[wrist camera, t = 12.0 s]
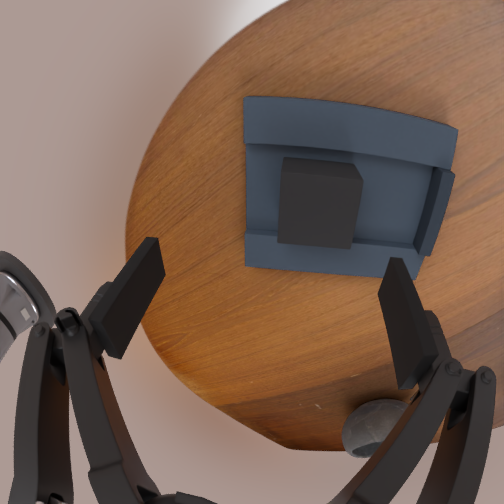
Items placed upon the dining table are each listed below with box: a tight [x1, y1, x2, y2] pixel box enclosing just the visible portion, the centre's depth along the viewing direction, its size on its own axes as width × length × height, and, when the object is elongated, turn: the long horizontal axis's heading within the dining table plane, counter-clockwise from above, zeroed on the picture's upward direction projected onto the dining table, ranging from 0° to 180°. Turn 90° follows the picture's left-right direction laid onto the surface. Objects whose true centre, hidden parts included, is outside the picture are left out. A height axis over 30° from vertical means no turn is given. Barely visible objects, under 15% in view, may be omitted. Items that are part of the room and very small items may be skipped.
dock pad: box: [243, 96, 458, 280], centre depth 23 cm, size 18×16×3 cm
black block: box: [277, 157, 364, 249], centre depth 23 cm, size 6×6×4 cm
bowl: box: [342, 399, 408, 458], centre depth 42 cm, size 15×15×10 cm
